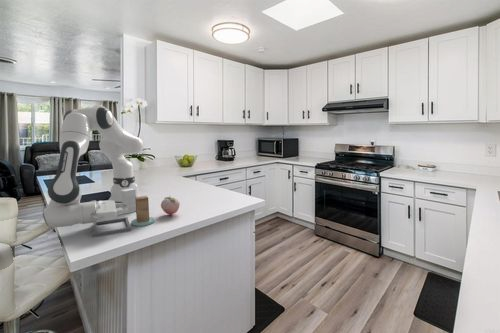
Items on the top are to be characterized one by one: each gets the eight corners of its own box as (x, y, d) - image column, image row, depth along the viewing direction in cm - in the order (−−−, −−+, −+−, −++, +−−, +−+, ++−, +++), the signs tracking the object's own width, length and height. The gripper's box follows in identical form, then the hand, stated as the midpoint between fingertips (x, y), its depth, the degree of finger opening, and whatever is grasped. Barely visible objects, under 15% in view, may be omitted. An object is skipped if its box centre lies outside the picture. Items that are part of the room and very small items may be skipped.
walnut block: (136, 219, 124) (135, 196, 122) (147, 217, 126) (146, 195, 124) (137, 222, 119) (136, 199, 118) (149, 221, 122) (148, 197, 120)
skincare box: (133, 209, 143) (131, 188, 141) (137, 211, 140) (135, 189, 138) (122, 212, 138) (120, 190, 136) (125, 214, 135) (124, 191, 134)
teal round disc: (130, 221, 125) (130, 219, 125) (152, 217, 129) (152, 215, 129) (132, 227, 116) (132, 225, 116) (156, 223, 121) (156, 221, 121)
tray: (93, 224, 120) (93, 222, 120) (127, 219, 127) (127, 217, 127) (92, 236, 106) (92, 234, 106) (130, 230, 113) (130, 227, 113)
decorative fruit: (183, 214, 135) (183, 195, 134) (171, 218, 128) (170, 198, 127) (170, 211, 140) (170, 192, 138) (158, 215, 133) (157, 196, 131)
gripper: (90, 211, 102) (129, 206, 109) (91, 199, 120) (125, 196, 127) (91, 227, 103) (130, 221, 110) (92, 213, 121) (126, 208, 128)
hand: (127, 207), depth 119 cm, fingers open, 8 cm apart
